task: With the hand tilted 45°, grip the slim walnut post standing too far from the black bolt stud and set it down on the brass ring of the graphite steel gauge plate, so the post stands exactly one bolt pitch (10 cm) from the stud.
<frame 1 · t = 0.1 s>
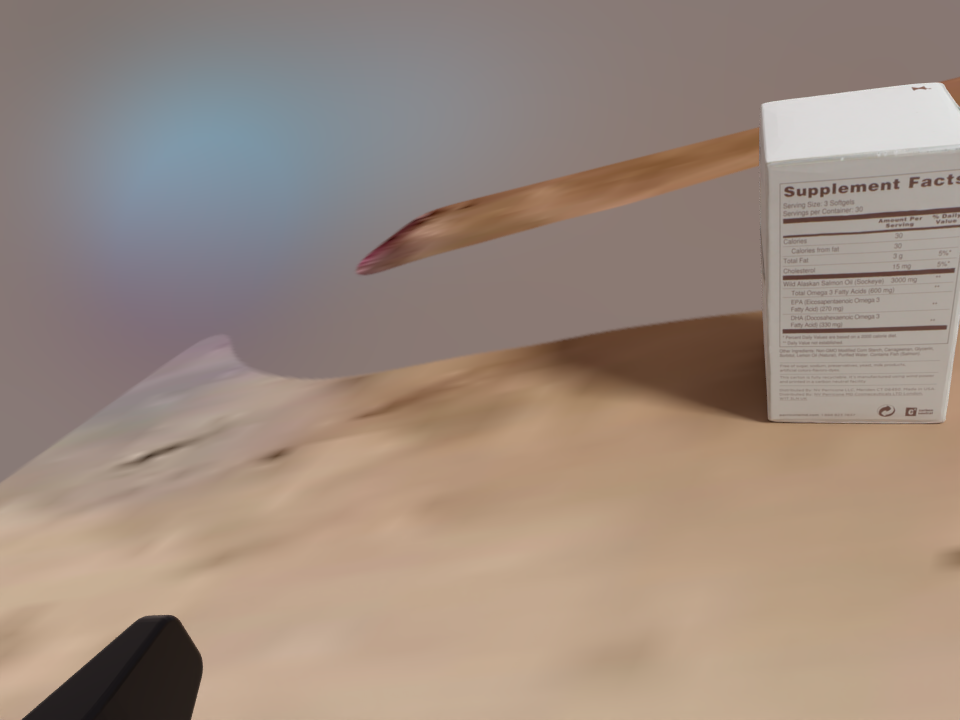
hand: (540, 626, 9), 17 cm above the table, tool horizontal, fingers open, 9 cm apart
supplement box: (844, 381, 37), on the table
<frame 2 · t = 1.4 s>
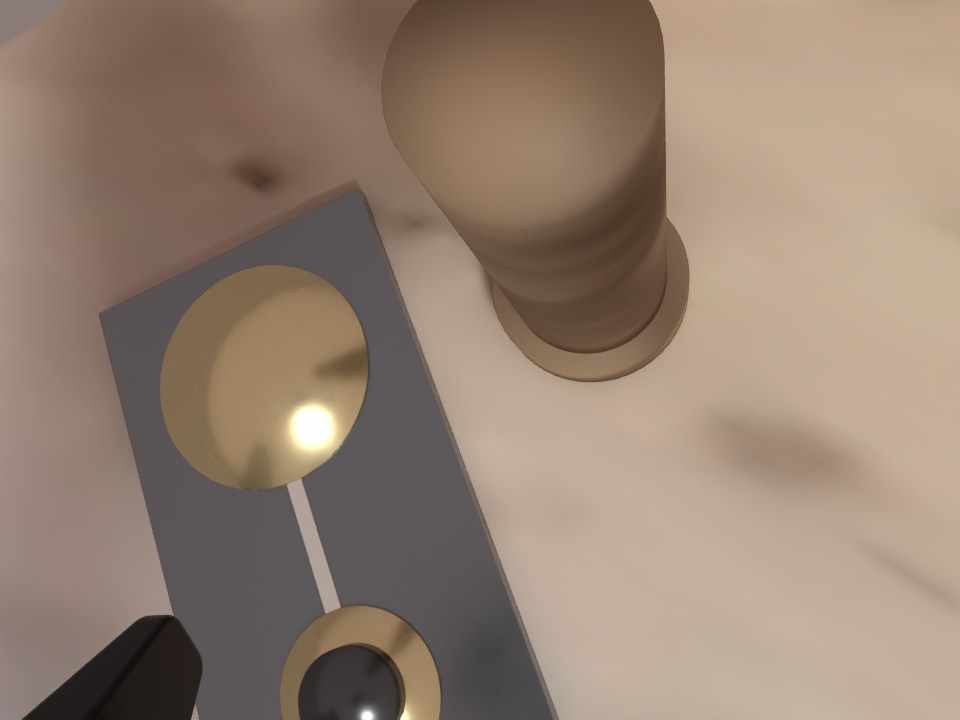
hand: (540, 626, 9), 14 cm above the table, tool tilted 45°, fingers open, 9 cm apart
gauge plate: (307, 494, 24), on the table
walnut post: (591, 290, 23), on the table
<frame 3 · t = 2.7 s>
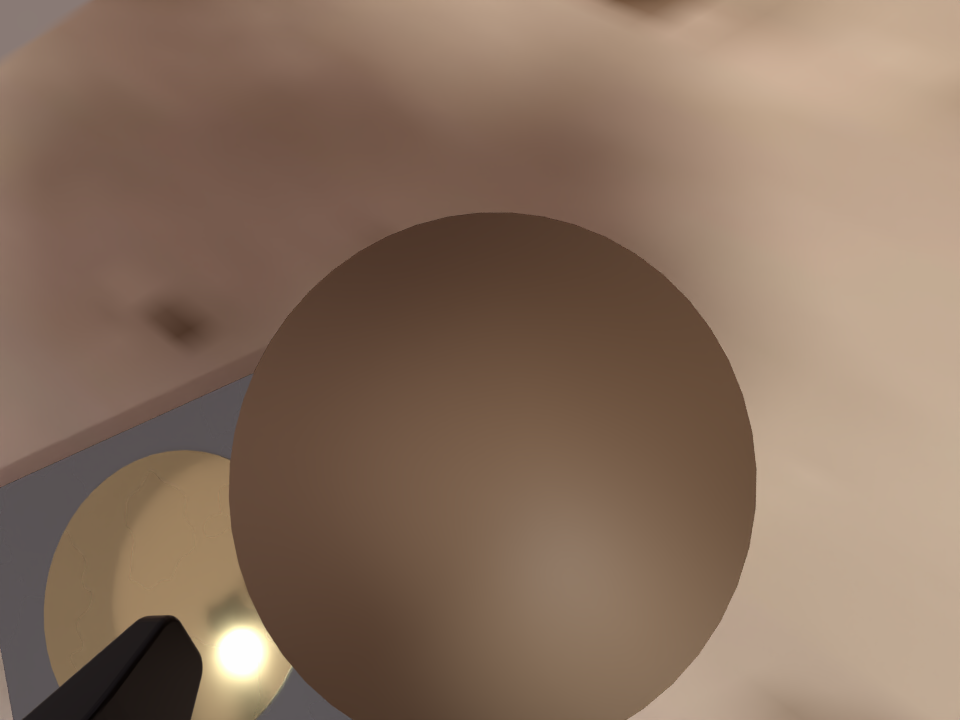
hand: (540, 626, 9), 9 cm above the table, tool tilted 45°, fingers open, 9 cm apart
walnut post: (599, 504, 18), on the table
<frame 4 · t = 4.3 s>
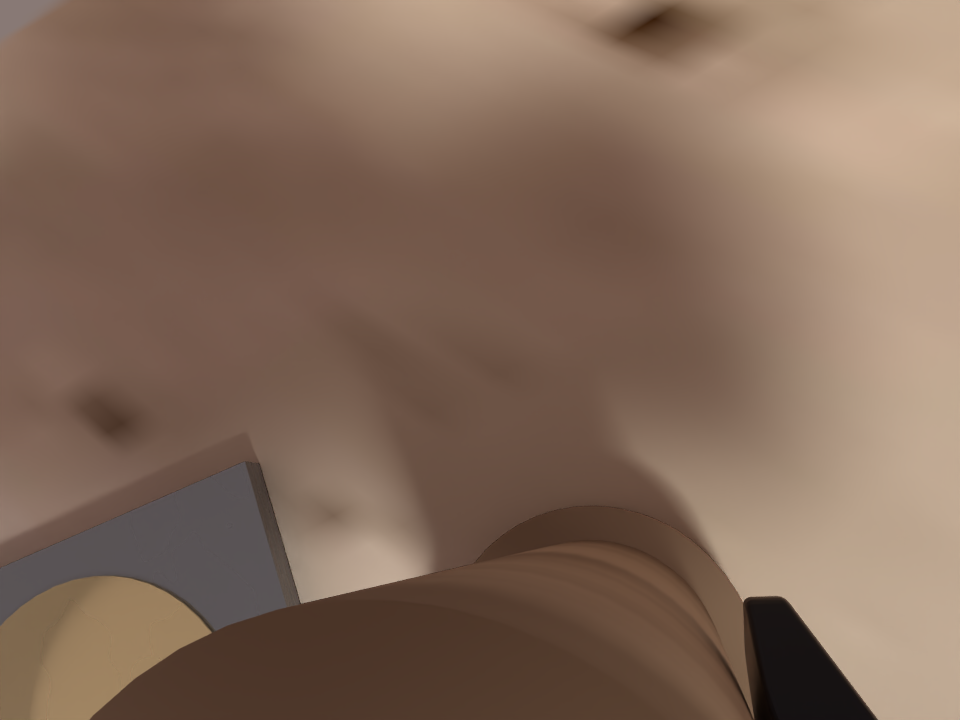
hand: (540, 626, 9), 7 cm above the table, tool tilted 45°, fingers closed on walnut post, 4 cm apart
walnut post: (600, 657, 15), on the table, touching gripper
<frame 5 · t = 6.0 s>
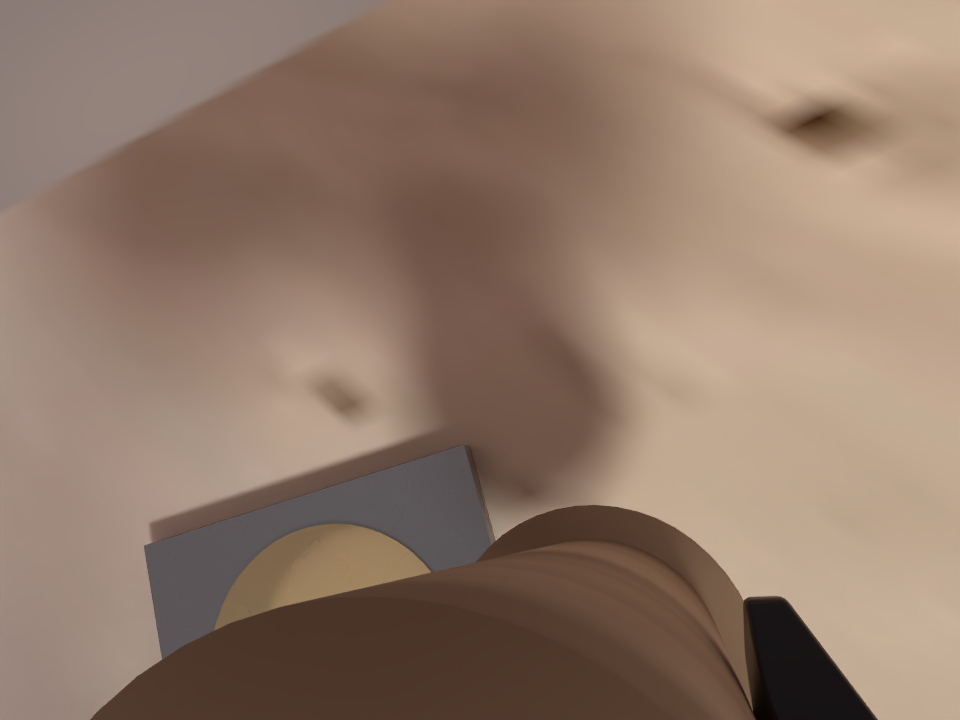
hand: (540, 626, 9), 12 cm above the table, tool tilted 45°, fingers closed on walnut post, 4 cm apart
walnut post: (601, 656, 15), point 5 cm above the table, touching gripper
when the fingers open (8 cm above the table, at t = 8.1 s): walnut post stays where it is, resting on gauge plate.
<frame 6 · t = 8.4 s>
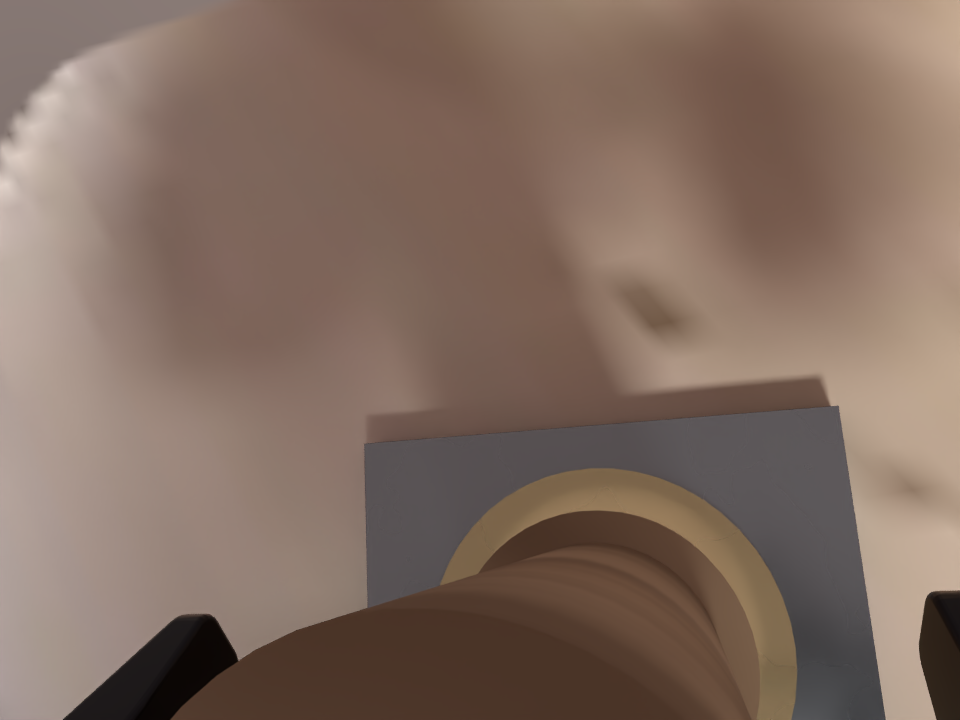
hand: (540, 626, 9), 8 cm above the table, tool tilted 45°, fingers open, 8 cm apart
walnut post: (604, 654, 15), point 1 cm above the table, touching gauge plate
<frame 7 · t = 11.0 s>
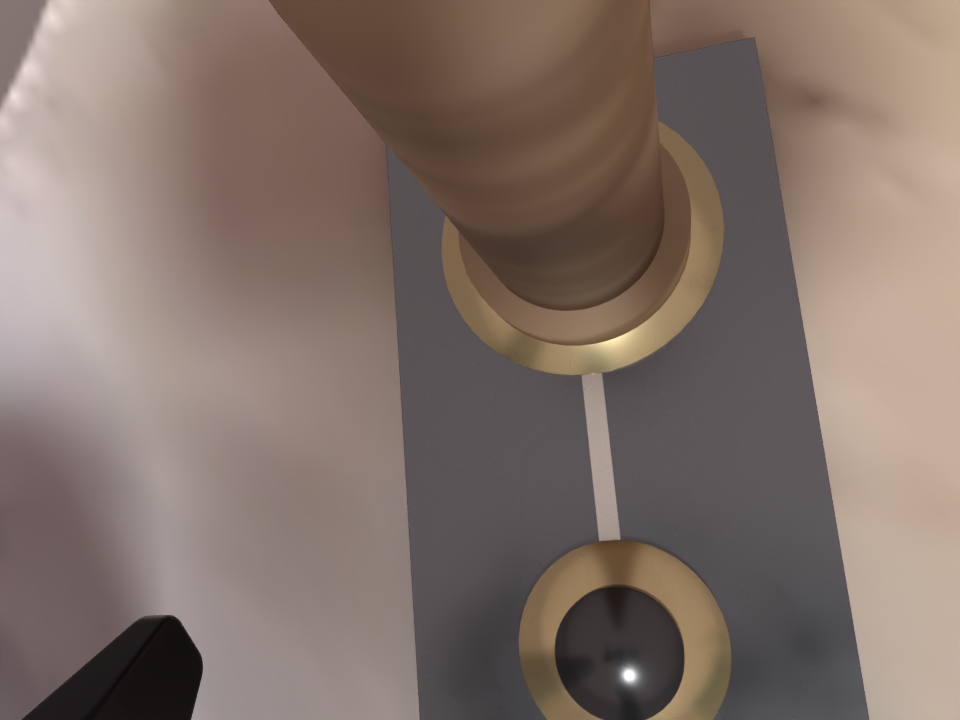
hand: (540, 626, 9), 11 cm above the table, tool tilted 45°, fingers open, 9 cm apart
gauge plate: (596, 393, 20), on the table
walnut post: (577, 237, 20), point 1 cm above the table, touching gauge plate
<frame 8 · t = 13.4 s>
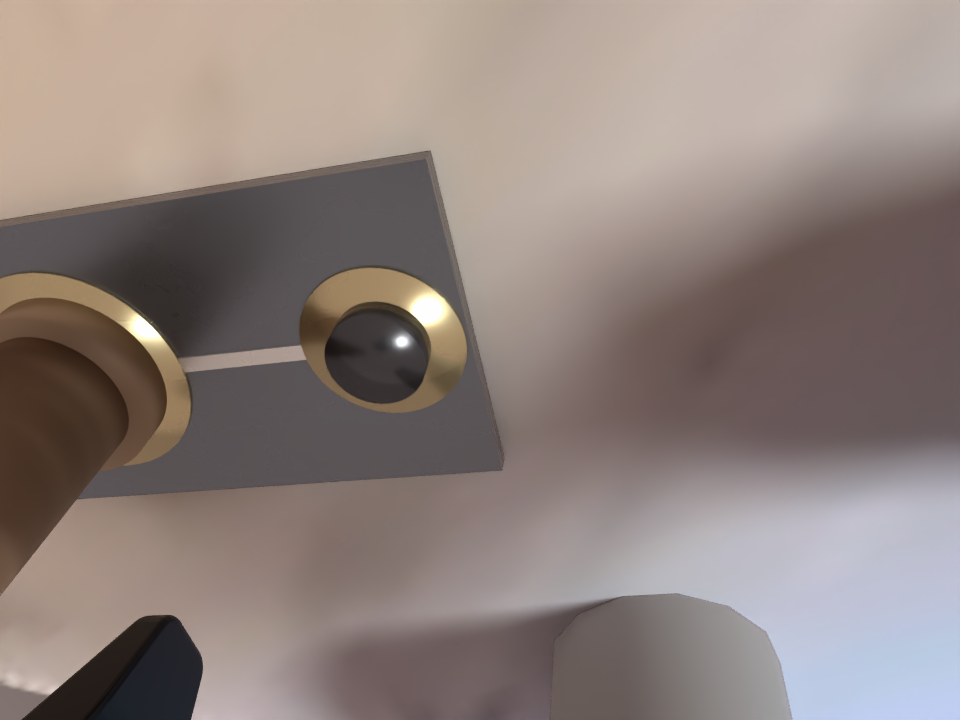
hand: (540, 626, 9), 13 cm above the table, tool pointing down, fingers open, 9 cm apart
cup: (662, 663, 30), on the table
gauge plate: (202, 352, 24), on the table
walnut post: (78, 376, 24), point 1 cm above the table, touching gauge plate
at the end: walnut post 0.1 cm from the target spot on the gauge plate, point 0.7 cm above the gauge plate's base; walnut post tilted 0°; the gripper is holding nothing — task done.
